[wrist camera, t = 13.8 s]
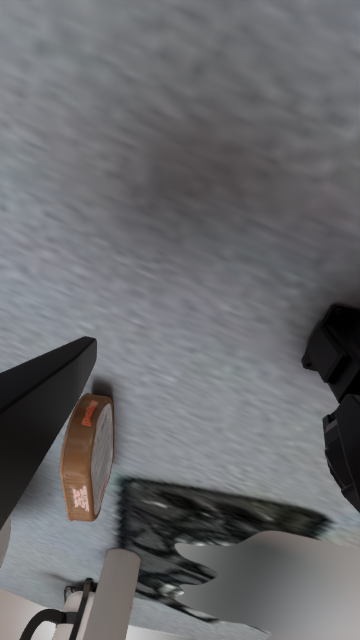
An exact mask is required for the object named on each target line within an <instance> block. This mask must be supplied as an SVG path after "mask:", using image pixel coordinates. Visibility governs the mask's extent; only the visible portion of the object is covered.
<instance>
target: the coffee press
mask: <svg viewBox="0 0 360 640" xmlns="http://www.w3.org/2000/svg"><path fill="white" fill-rule="evenodd" d="M92 587H93V579H86V580H85V583H84V589H83V591H77V592H74V593H73V591H72V589H71V587H70V586H68V587H66V588H65V590H64V599H65V603H64V607H63V610H62V612H61V611H59V610H55V609H45V610H42V611H40V612H38V613H37V614H36V615H35V616H34V617H33V618H32V619H31V620H30V621H29V623H28V624H27V626H26V628H25V629H24V631H23V633H22V635H21V638H20V640H30V639H31V637H32V635H33V633H34V631H35V630H36V628H37V627H38V626H39V625H40V624H41V623H42V622H43V621H49V622H53V623H55V624H56V630H55V633H54V636H53V639H52V640H83V636H84V633H85V629H86V626H87V622H88V618H89V615H90V611H91V607H92V604H93V600H94V597H95V592H93V590H92ZM69 589H71V592H72V594H71V595H69V597H68V598H67V599H66V592H67V591H68V590H69Z"/></svg>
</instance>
